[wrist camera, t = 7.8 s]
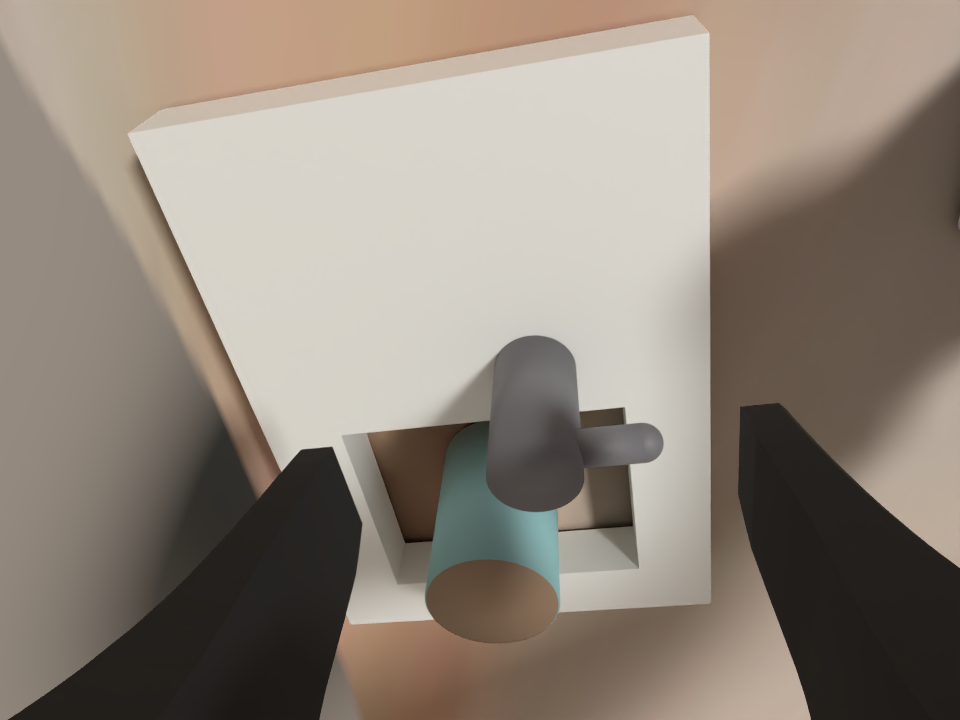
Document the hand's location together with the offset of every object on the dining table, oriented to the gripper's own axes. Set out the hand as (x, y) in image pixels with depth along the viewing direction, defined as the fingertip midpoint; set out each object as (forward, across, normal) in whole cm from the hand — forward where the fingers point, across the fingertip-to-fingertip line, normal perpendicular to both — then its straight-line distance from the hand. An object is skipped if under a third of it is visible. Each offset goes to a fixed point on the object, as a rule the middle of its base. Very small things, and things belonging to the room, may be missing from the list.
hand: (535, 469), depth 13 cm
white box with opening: (+10, +2, +5) cm, 11 cm away
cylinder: (+10, +2, +9) cm, 14 cm away
